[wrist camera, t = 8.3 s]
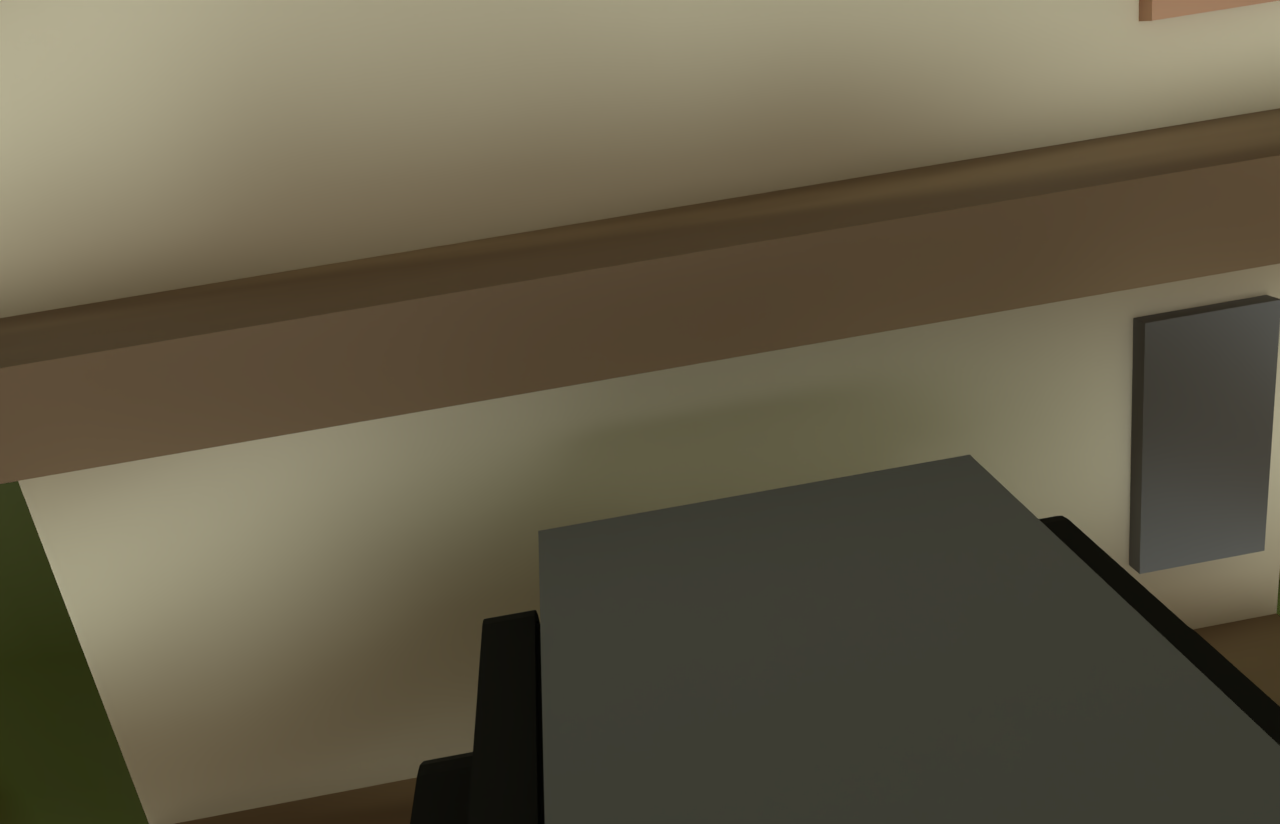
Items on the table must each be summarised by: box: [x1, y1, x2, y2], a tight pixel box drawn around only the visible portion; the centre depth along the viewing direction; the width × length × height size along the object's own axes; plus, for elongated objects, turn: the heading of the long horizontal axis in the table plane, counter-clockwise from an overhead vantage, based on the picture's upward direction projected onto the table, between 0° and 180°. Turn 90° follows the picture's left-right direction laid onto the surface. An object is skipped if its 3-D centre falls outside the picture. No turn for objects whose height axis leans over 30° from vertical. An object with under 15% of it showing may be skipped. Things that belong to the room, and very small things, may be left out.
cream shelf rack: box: [0, 0, 1280, 824], centre depth 13 cm, size 18×18×4 cm
